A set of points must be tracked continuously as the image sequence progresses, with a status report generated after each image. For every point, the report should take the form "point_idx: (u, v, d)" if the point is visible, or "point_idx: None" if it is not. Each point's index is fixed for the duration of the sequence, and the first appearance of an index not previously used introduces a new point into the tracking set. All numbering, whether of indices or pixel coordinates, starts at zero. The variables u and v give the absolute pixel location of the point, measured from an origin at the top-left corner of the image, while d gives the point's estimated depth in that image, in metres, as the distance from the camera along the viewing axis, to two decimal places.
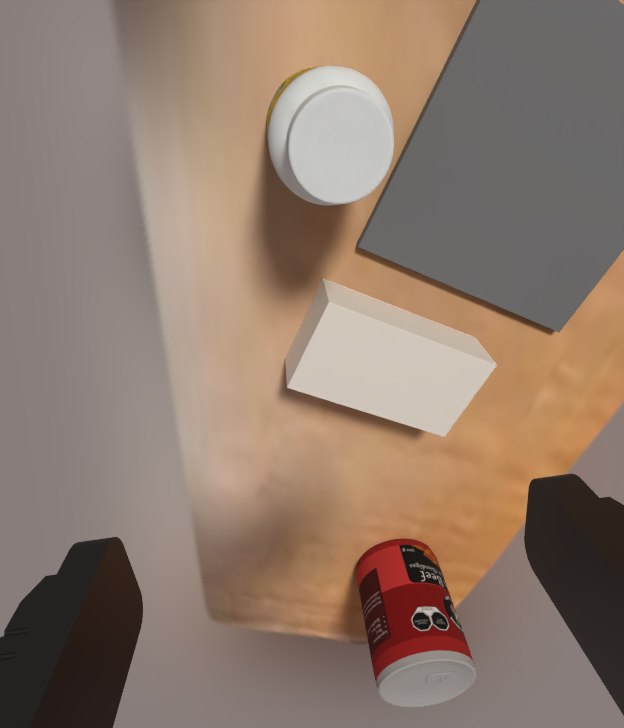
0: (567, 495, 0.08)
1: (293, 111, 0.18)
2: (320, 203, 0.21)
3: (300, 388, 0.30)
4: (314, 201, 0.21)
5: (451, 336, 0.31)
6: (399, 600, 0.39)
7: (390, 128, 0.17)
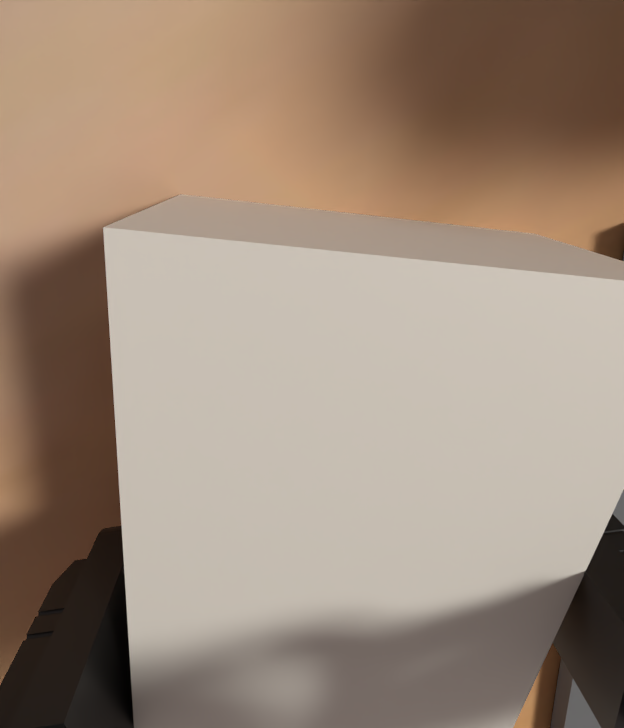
0: None
1: None
2: None
3: (134, 313, 0.05)
4: None
5: None
6: None
7: None
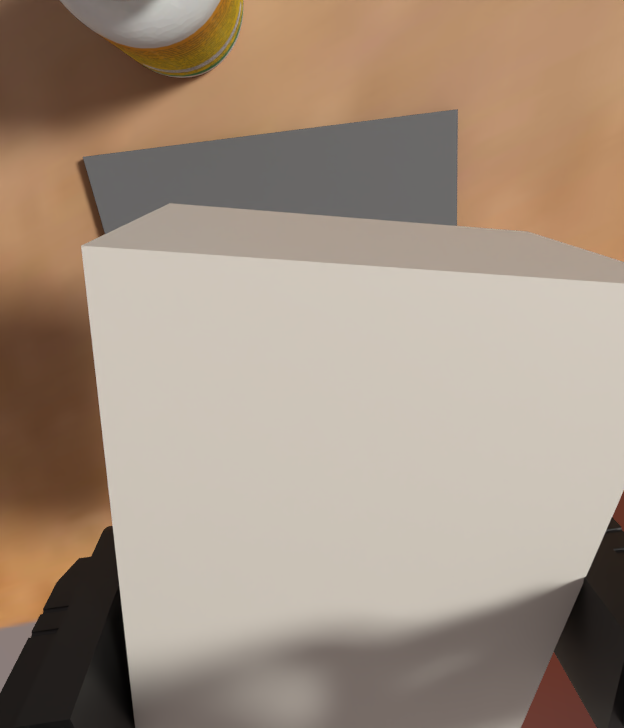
0: None
1: None
2: None
3: (116, 331, 0.05)
4: None
5: None
6: None
7: None
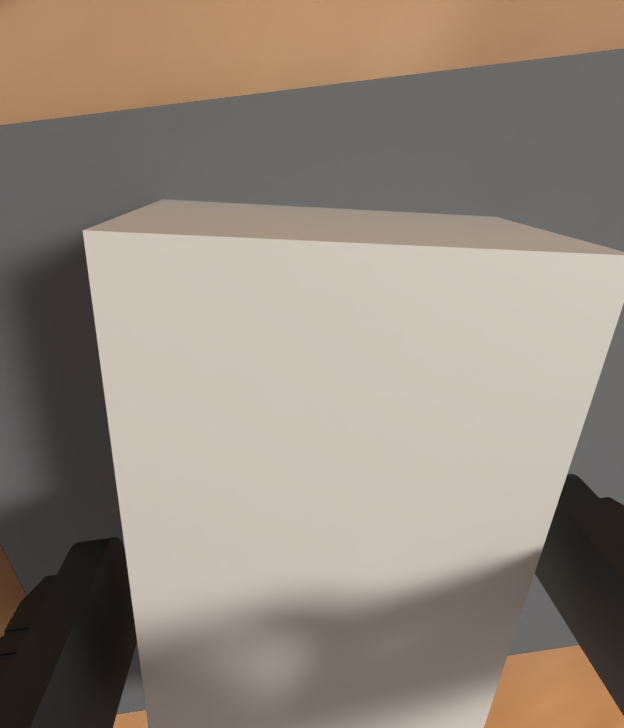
0: (567, 495, 0.08)
1: None
2: None
3: (115, 305, 0.05)
4: None
5: None
6: None
7: None
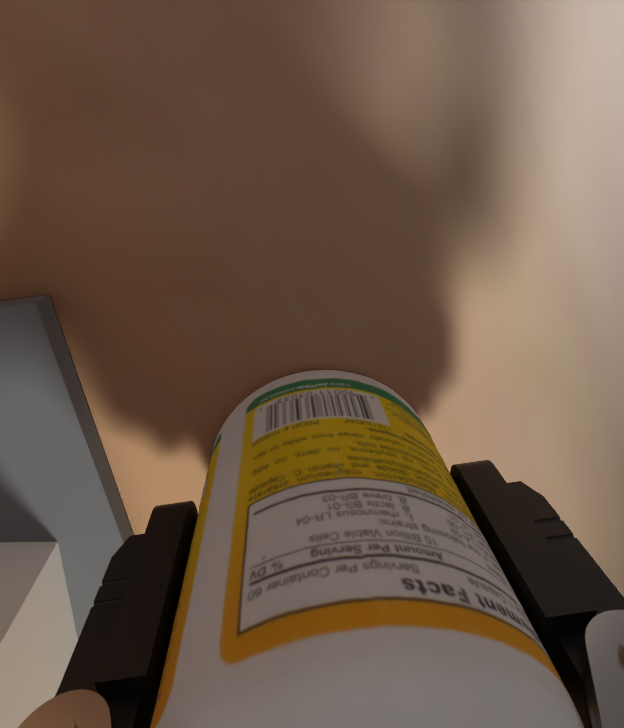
0: (477, 479, 0.09)
1: None
2: (295, 717, 0.04)
3: None
4: (327, 718, 0.04)
5: None
6: None
7: None
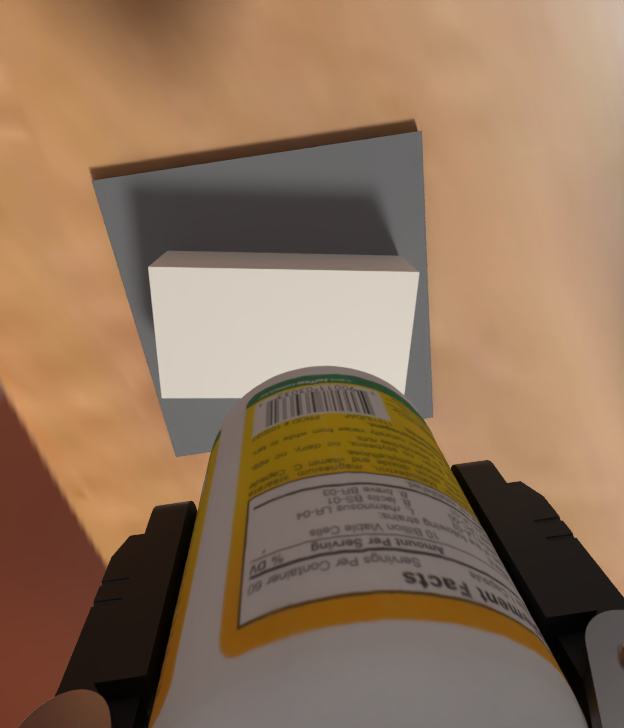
0: (477, 479, 0.09)
1: None
2: (295, 710, 0.04)
3: (401, 277, 0.21)
4: (328, 711, 0.04)
5: None
6: None
7: None
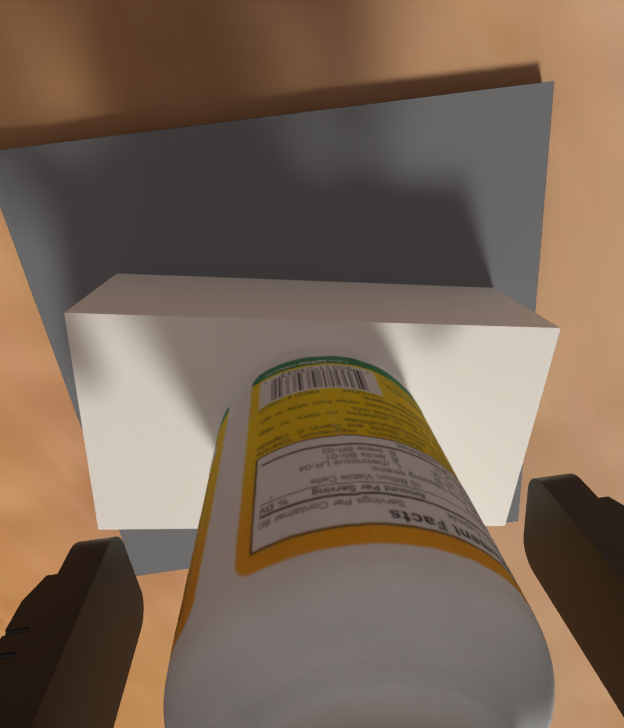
0: (566, 495, 0.08)
1: None
2: (299, 609, 0.05)
3: (527, 336, 0.12)
4: (326, 609, 0.05)
5: None
6: None
7: None
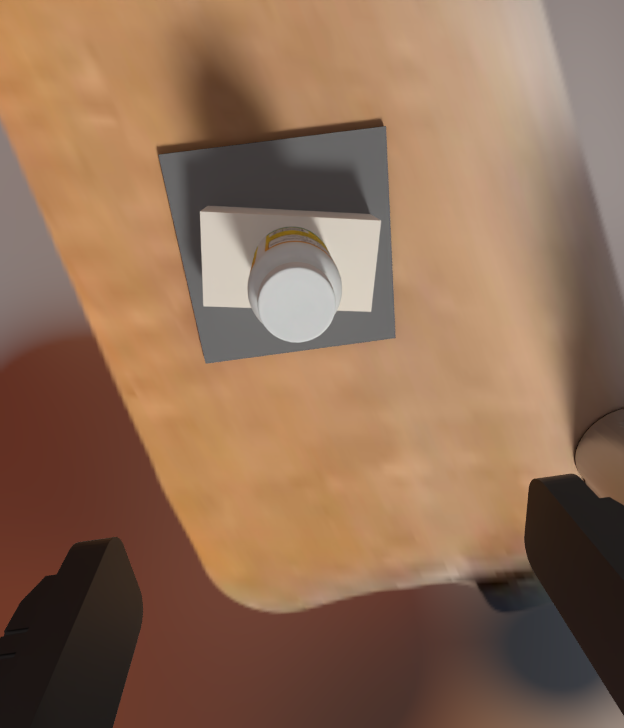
0: (567, 495, 0.08)
1: None
2: (279, 249, 0.25)
3: (368, 223, 0.32)
4: (284, 248, 0.25)
5: None
6: None
7: (274, 334, 0.24)
